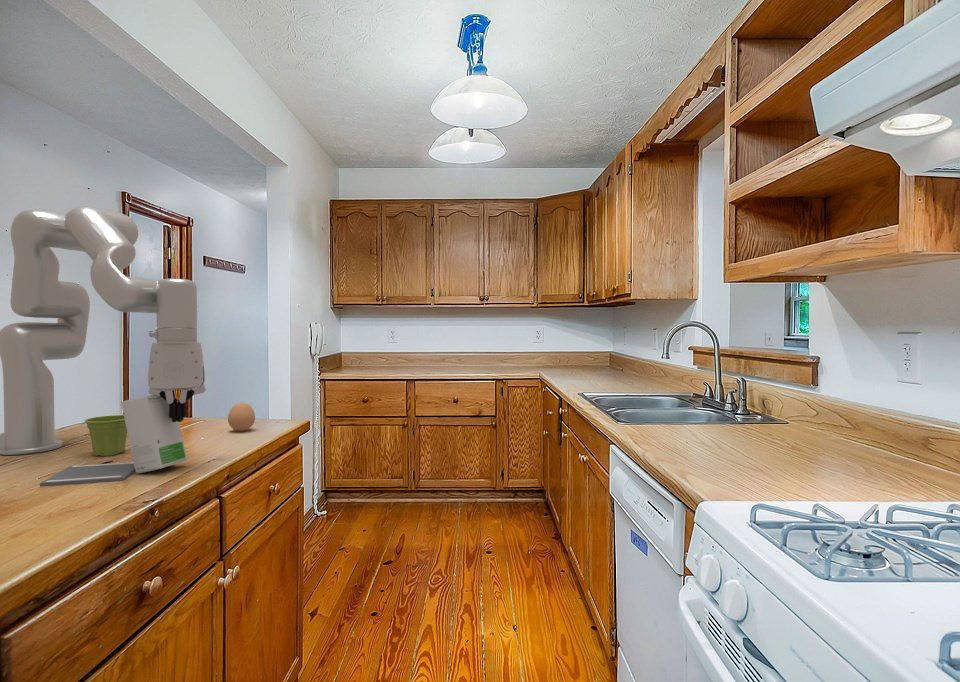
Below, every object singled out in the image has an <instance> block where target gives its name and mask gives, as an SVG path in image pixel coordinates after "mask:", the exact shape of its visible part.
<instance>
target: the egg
mask: <svg viewBox="0 0 960 682" xmlns="http://www.w3.org/2000/svg"><path fill="white" fill-rule="evenodd" d="M255 421H256V413H255V411H254V409H253V407H252V406H251V405H250V404H249V403H246V402H238V403H235V404H234V405H233V406H232V407H231V408H230V411H229V412H228V414H227V423H228V425H229V426H230V428H231V429H232V430H234V431H235V432H245V431H247V430H250V428H252V427H253V425H254V423H255Z"/></svg>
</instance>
